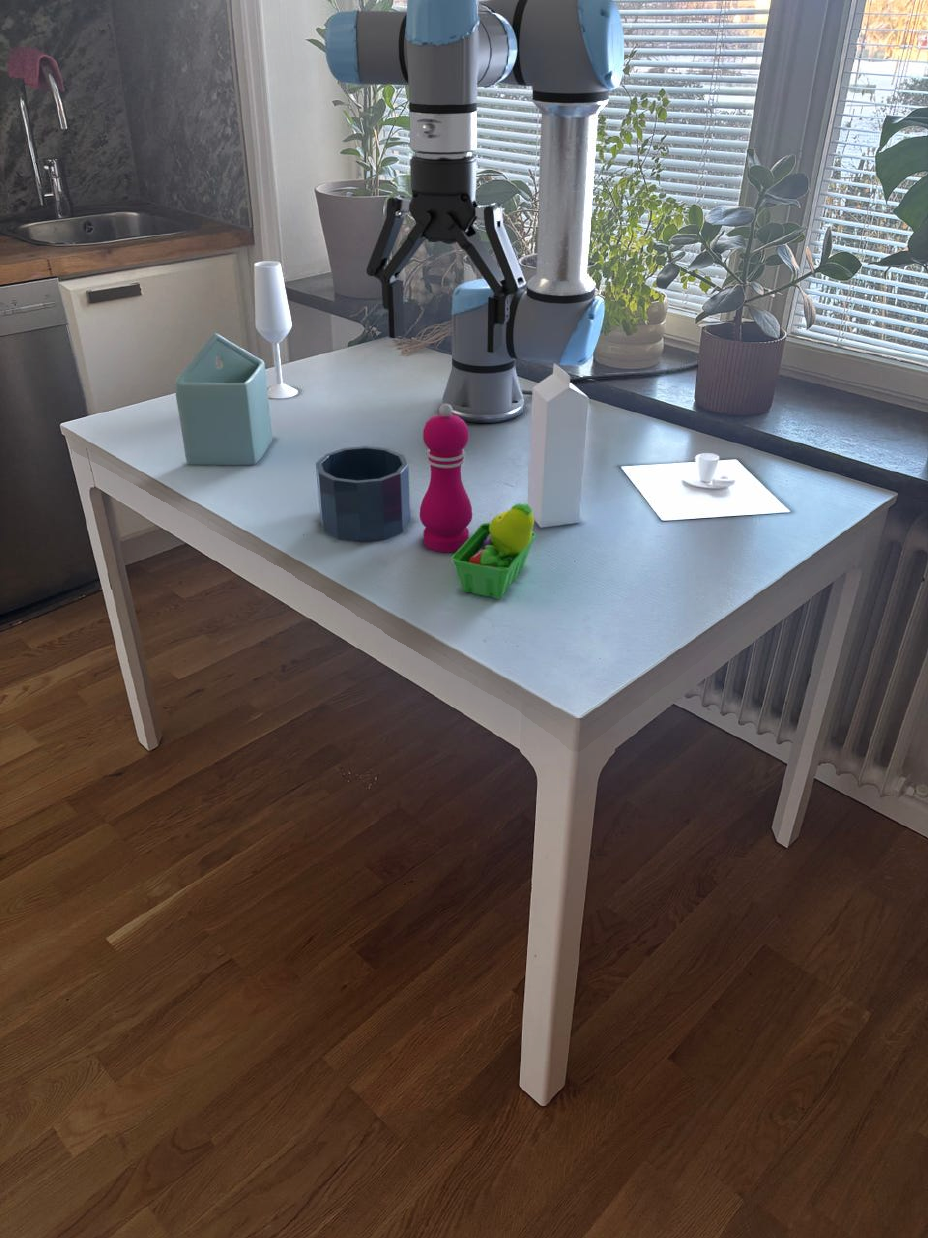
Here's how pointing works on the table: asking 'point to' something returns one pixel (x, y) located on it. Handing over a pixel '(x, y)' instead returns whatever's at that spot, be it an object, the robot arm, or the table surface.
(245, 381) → the planter
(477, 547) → the fruit basket
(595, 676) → the table surface
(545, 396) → the milk
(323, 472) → the crock
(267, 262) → the champagne flute
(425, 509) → the pepper mill
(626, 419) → the table surface
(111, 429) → the table surface
